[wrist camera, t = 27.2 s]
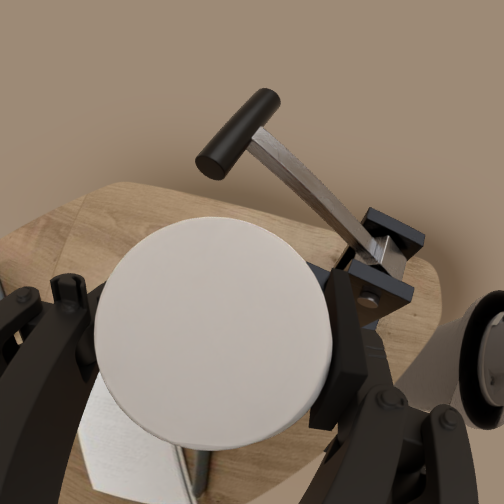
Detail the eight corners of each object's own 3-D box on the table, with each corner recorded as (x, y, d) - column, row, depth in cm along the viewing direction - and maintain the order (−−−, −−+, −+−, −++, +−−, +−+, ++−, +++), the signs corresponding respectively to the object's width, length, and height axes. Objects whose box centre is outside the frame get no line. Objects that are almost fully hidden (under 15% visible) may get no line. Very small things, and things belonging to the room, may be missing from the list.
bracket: (281, 313, 29) (298, 259, 15) (304, 265, 31) (333, 183, 17) (363, 349, 26) (443, 326, 13) (381, 301, 29) (456, 245, 15)
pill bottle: (312, 322, 15) (396, 231, 5) (279, 422, 13) (312, 520, 3) (212, 290, 16) (141, 166, 6) (176, 385, 14) (38, 393, 4)
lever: (187, 168, 12) (205, 146, 10) (247, 101, 14) (269, 78, 12) (363, 312, 17) (392, 314, 15) (386, 241, 19) (412, 237, 17)
